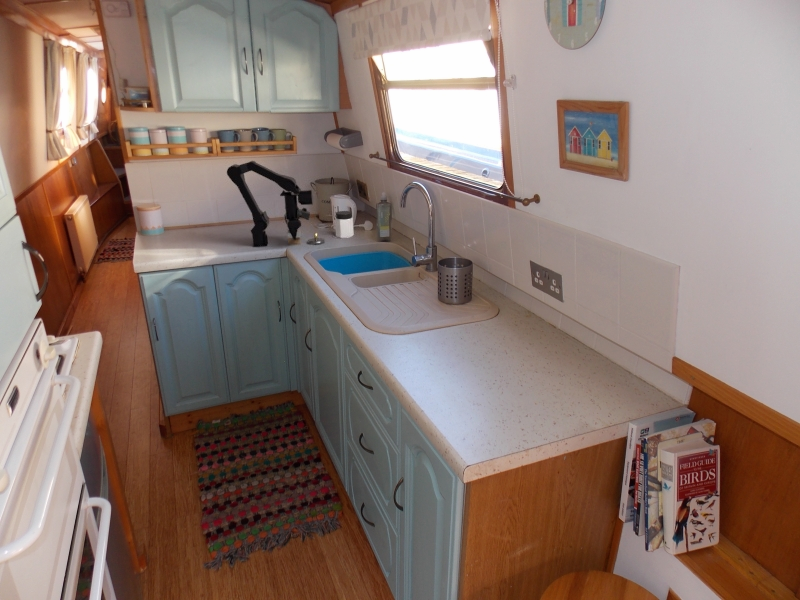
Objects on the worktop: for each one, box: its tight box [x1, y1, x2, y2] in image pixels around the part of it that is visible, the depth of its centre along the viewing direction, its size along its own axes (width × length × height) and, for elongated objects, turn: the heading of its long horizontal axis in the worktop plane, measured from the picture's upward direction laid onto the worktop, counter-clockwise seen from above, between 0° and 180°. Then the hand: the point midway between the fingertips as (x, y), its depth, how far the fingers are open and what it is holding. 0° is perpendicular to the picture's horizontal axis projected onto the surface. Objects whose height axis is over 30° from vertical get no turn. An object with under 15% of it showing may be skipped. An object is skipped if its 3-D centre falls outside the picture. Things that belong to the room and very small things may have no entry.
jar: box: [334, 210, 354, 239], centre depth 283 cm, size 9×8×12 cm
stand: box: [287, 237, 301, 246], centre depth 271 cm, size 6×2×6 cm, turn 106°
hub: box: [307, 232, 326, 246], centre depth 273 cm, size 8×8×5 cm
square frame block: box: [285, 228, 302, 239], centre depth 270 cm, size 7×7×2 cm
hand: (293, 237), depth 271 cm, fingers open, 8 cm apart
